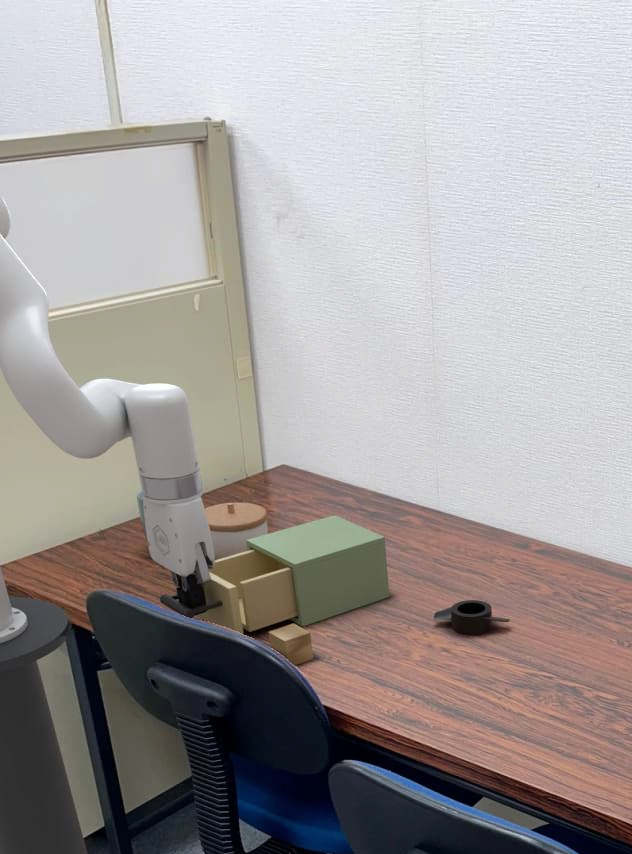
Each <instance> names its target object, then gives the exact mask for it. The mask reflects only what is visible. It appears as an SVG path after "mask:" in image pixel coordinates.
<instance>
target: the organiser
mask: <svg viewBox="0 0 632 854" xmlns="http://www.w3.org/2000/svg"><path fill="white" fill-rule="evenodd" d="M246 542H247V549H248V551H249V550H253V549H256V550H258V551H260V552H262V553H264V554H266V555H268V556H270V557H272V558H274V559H276V560H278V561H280V562H282V563H284V564H286V565H288V566H290V567H292V569H293V577H294V585H295V593H296V601H297V609H298V616H296V617H293V618H290V619H288V620H289V621H292V622H293V623H294V624H296V625H298V626H299V627H301V628H304V627H305V626H308V625H311V624H315V623H317V622H321V621H323V620H327V619H329V618H332V617H336V616H338V615H340V614H343V613H346V612H347V613H348V612H349V611H353V610H355V609H358V608H361V607H364V606H367V605H370V604H372V603H373V604H374V603H375V602H379V601H381V600H384V599H387V598H390V586H389V575H388V562H387V561H388V560H387V549H386V537H385V536H384V535H381V534H379V533H376V532H375V531H372V530H370V529H368V528H365V527H363V526H361V525H358V524H357V523H354V522H352V521H349V520H347V519H344V518H343V517H340V516H338V515H336V514H334V515H331V516H327V517H322V518H319V519H316V520H312V521H309V522H305V523H302V524H298V525H295V526H291V527H288V528H284V529H280V530H277V531H273V532H269V533H268V534H266V535H262V536H259V537H255V538H252V539H248V540H246Z"/></svg>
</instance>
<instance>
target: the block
mask: <svg viewBox="0 0 632 854" xmlns="http://www.w3.org/2000/svg"><path fill="white" fill-rule="evenodd" d="M268 639H269V646H270V649H271V648H273V649H274V650H276V651H277V652H279V653H280V654H281V655H283V656H284V657H285V658H286V659H288V660H289V662H291V663H292V664H293V665H294V666H293V667H295V666H298V665H300V664H303V663H306V662H309V661H312V660H314V651H313V645H312V644H313V643H312V636H311V632H310V631H309V630H307V629H305V628H304V627H302V626H300V625H299V624H297V623H295V622H293V623H291V624H287V625H284V626H282V627H279V628H276V629H273V630H269V631H268Z"/></svg>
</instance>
